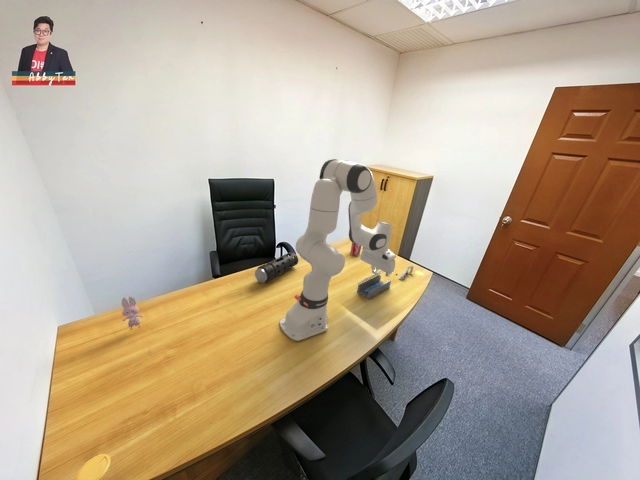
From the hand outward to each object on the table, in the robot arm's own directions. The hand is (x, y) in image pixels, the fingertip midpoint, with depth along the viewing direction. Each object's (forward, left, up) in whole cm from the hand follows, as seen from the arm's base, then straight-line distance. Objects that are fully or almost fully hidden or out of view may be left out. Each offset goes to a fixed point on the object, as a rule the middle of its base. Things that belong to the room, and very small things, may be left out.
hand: (374, 273), depth 129 cm
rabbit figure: (-104, +38, -10) cm, 111 cm away
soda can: (+26, +34, -10) cm, 44 cm away
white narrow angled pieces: (+30, 0, -10) cm, 32 cm away
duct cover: (0, +2, -5) cm, 6 cm away
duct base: (0, -2, -10) cm, 10 cm away
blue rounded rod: (0, -2, -9) cm, 9 cm away
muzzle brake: (-36, +41, -10) cm, 56 cm away
